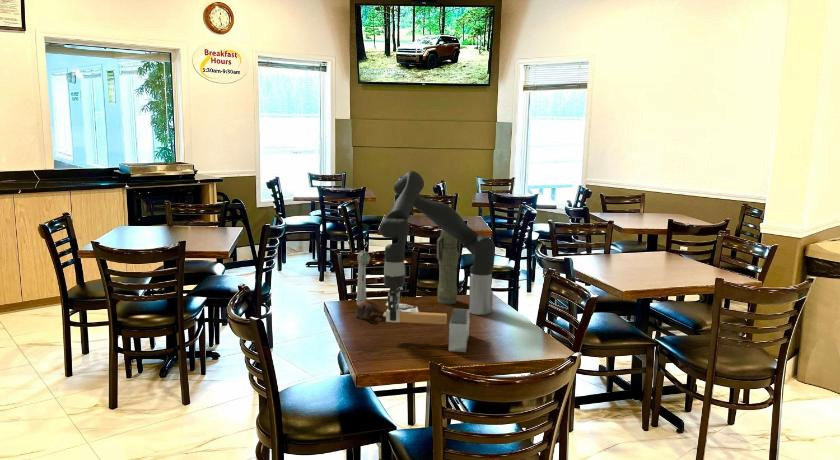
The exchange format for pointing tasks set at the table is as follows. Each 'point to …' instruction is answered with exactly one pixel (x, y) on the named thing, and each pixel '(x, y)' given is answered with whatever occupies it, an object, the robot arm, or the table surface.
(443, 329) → the table surface
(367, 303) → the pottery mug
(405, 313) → the wooden handle
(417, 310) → the cloth
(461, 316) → the block
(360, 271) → the grey knobbed rod
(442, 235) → the thermos
